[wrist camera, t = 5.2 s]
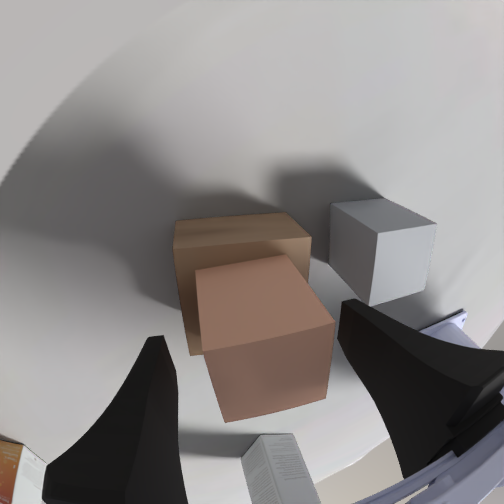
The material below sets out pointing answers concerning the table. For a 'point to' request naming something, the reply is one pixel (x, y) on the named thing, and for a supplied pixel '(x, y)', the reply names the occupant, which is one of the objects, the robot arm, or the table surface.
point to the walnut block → (231, 253)
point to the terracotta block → (263, 337)
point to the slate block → (380, 248)
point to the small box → (20, 475)
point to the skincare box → (278, 472)
